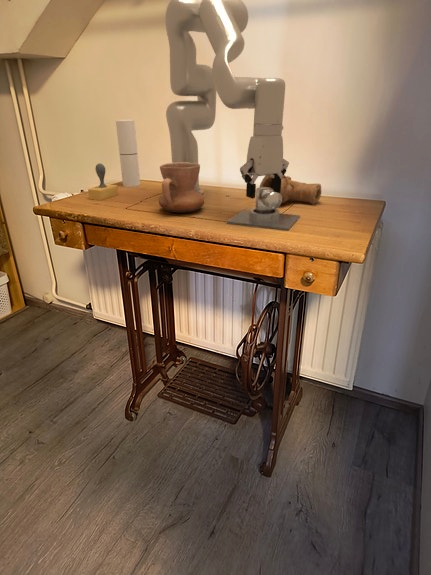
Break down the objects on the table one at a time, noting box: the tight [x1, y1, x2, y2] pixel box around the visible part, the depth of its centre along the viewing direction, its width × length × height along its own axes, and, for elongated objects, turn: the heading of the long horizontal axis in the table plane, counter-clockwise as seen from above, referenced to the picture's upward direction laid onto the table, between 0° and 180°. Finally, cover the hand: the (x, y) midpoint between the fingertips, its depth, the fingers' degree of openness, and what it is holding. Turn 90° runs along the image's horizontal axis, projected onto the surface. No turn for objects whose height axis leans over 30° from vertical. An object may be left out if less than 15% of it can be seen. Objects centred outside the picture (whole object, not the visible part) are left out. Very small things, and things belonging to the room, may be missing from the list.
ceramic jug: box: [158, 162, 205, 214], centre depth 122 cm, size 18×14×14 cm
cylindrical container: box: [115, 119, 141, 188], centre depth 157 cm, size 7×7×25 cm
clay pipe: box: [259, 174, 322, 205], centre depth 130 cm, size 19×11×15 cm
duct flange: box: [226, 207, 301, 231], centre depth 113 cm, size 18×14×3 cm
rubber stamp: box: [87, 162, 119, 201], centre depth 141 cm, size 10×6×12 cm, turn 154°
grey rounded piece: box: [255, 186, 282, 214], centre depth 111 cm, size 7×5×8 cm, turn 36°
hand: (263, 195), depth 111 cm, fingers open, 9 cm apart
